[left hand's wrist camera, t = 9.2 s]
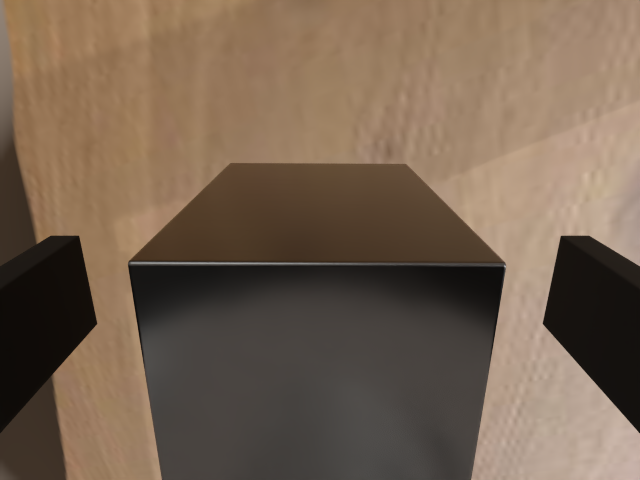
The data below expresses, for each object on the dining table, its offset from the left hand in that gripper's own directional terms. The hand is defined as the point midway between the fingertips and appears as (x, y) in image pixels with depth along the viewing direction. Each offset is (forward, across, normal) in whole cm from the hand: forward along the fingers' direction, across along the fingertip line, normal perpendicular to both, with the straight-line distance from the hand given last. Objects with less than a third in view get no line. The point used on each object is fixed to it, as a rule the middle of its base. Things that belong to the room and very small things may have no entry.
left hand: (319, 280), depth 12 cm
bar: (+3, 0, -10) cm, 10 cm away
